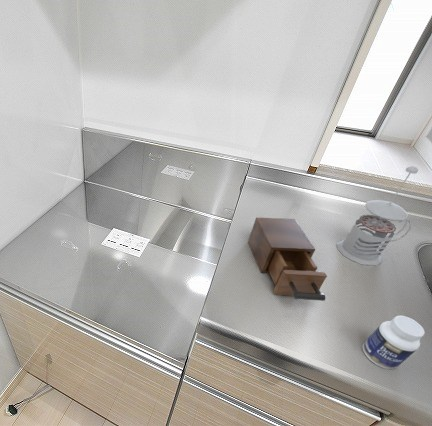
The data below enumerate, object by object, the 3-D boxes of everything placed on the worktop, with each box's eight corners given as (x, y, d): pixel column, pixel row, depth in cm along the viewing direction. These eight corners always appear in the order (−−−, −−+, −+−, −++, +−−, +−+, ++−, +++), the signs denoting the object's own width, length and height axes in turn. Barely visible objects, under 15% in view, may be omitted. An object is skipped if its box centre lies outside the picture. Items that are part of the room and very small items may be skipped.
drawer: (324, 313, 62) (338, 292, 58) (282, 310, 62) (293, 289, 58) (295, 262, 73) (305, 242, 69) (260, 261, 74) (268, 241, 70)
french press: (330, 237, 82) (376, 155, 67) (377, 242, 80) (435, 159, 65) (345, 262, 74) (400, 175, 60) (398, 269, 72) (468, 180, 58)
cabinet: (302, 275, 71) (315, 249, 66) (261, 273, 72) (271, 247, 67) (283, 243, 81) (294, 218, 76) (247, 242, 81) (256, 217, 76)
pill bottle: (365, 363, 54) (394, 333, 48) (358, 338, 58) (384, 307, 52) (402, 374, 52) (436, 345, 46) (392, 347, 56) (422, 317, 50)
